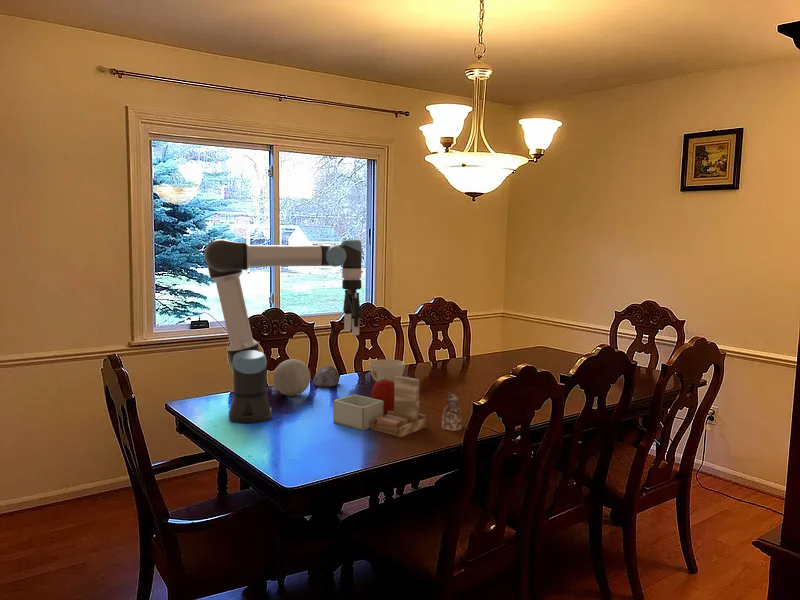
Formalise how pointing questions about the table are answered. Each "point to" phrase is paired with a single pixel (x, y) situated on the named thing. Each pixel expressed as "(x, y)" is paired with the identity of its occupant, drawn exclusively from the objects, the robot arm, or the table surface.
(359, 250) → the robot arm
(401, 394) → the birch sheet
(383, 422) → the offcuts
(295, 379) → the decorative sphere
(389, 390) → the red ovoid
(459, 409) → the figurine
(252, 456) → the table surface
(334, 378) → the rock
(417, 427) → the oak rack
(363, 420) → the box
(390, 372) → the bowl
